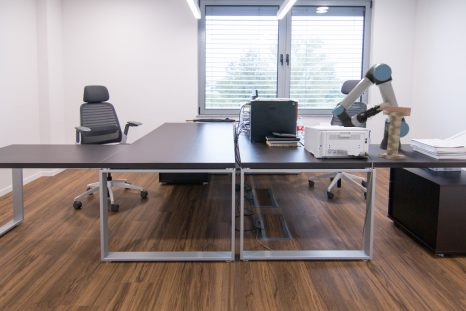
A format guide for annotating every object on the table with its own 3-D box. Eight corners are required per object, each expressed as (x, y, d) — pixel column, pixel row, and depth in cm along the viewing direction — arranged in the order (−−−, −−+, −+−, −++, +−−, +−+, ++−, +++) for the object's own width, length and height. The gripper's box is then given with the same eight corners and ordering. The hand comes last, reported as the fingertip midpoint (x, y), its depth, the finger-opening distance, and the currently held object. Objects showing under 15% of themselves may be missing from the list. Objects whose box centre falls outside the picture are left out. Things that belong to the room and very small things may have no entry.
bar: (374, 109, 284) (374, 105, 283) (377, 109, 286) (378, 105, 285) (406, 112, 265) (407, 107, 264) (410, 112, 267) (411, 107, 266)
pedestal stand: (378, 156, 279) (383, 111, 274) (389, 155, 286) (393, 111, 281) (394, 159, 270) (399, 113, 264) (405, 158, 277) (410, 112, 271)
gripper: (368, 123, 300) (396, 109, 282) (353, 124, 290) (380, 109, 272) (365, 113, 302) (392, 99, 284) (350, 114, 292) (376, 99, 274)
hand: (386, 104), depth 278 cm, fingers closed on bar, 4 cm apart
